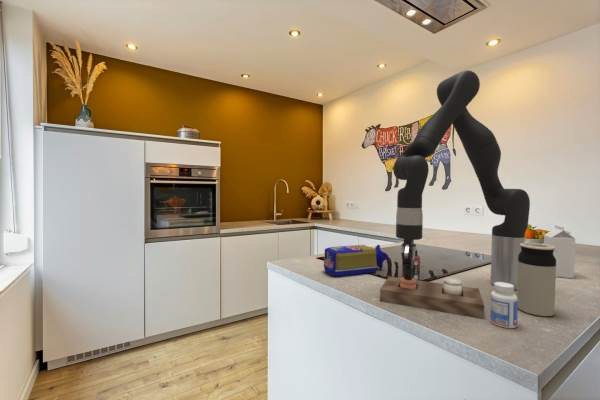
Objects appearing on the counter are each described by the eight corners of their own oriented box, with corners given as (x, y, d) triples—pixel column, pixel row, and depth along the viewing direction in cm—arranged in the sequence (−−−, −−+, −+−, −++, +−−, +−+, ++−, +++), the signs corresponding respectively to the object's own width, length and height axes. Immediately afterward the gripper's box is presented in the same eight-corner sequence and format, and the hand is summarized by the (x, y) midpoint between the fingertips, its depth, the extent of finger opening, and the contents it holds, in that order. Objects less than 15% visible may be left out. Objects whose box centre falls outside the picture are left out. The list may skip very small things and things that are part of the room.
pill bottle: (506, 318, 74) (507, 280, 74) (522, 328, 69) (524, 288, 69) (485, 318, 74) (486, 280, 74) (500, 328, 69) (501, 288, 69)
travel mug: (543, 319, 74) (545, 249, 73) (510, 307, 81) (512, 243, 81) (560, 314, 77) (563, 246, 77) (527, 303, 84) (529, 241, 84)
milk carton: (550, 276, 111) (551, 227, 110) (542, 271, 117) (544, 224, 117) (574, 279, 108) (575, 228, 107) (565, 273, 115) (566, 225, 114)
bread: (321, 271, 117) (321, 246, 116) (373, 266, 126) (373, 242, 125) (333, 279, 107) (333, 251, 107) (388, 272, 116) (388, 246, 116)
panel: (478, 300, 87) (478, 288, 87) (483, 318, 74) (484, 305, 74) (388, 286, 98) (388, 276, 98) (380, 300, 86) (380, 289, 86)
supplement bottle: (421, 283, 102) (421, 251, 102) (403, 282, 103) (403, 250, 103) (417, 278, 108) (418, 248, 108) (401, 277, 109) (401, 247, 109)
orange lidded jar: (416, 293, 90) (417, 278, 90) (415, 298, 86) (415, 282, 86) (401, 291, 92) (401, 276, 92) (399, 296, 88) (399, 280, 88)
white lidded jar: (461, 295, 85) (461, 278, 84) (461, 300, 81) (462, 283, 80) (443, 292, 87) (443, 276, 87) (443, 297, 83) (443, 280, 82)
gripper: (420, 225, 81) (419, 287, 81) (424, 221, 92) (422, 275, 93) (392, 224, 84) (391, 283, 85) (399, 220, 96) (398, 272, 96)
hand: (408, 279), depth 89 cm, fingers closed
